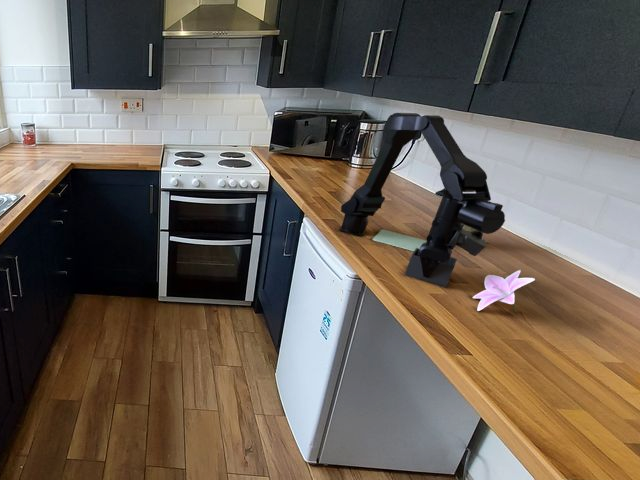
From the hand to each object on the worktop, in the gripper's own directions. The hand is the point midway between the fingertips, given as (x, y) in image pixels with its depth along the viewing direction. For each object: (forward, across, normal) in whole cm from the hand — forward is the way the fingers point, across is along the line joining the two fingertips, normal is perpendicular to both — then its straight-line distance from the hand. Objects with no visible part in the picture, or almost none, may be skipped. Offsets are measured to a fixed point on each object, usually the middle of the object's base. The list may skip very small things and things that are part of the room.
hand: (428, 273), depth 106 cm
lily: (+1, -6, -14) cm, 15 cm away
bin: (+1, 0, 0) cm, 1 cm away
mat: (+1, +23, +9) cm, 25 cm away
